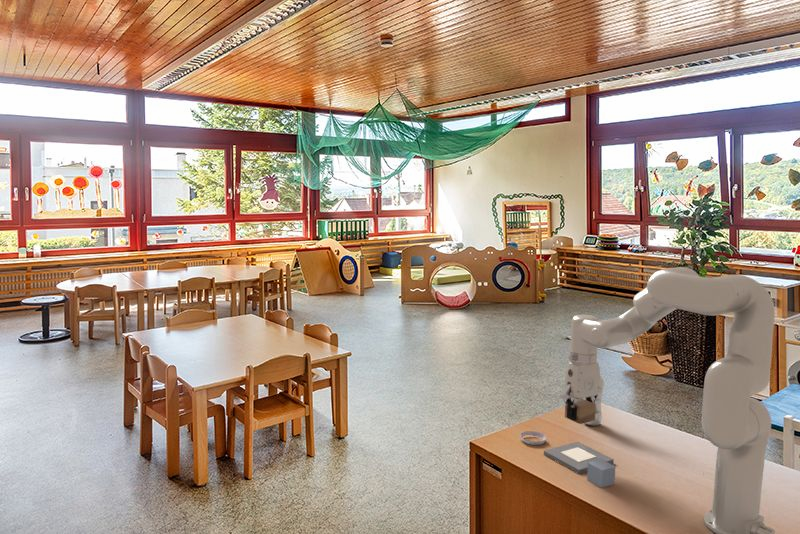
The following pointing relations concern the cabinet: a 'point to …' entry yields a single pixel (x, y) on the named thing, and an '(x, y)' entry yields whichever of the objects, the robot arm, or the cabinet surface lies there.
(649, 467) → the cabinet surface
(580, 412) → the walnut block
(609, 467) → the slate blue cube
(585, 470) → the building board
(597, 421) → the plastic bottle
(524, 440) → the lavender ring
